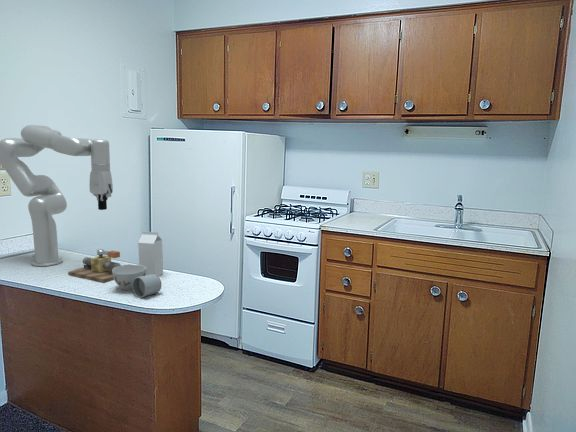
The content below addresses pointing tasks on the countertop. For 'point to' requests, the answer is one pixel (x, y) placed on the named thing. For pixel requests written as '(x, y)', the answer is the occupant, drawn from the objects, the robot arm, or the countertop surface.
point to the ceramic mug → (146, 285)
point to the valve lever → (109, 253)
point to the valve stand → (96, 269)
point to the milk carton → (151, 253)
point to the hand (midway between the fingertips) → (102, 209)
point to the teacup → (127, 275)
